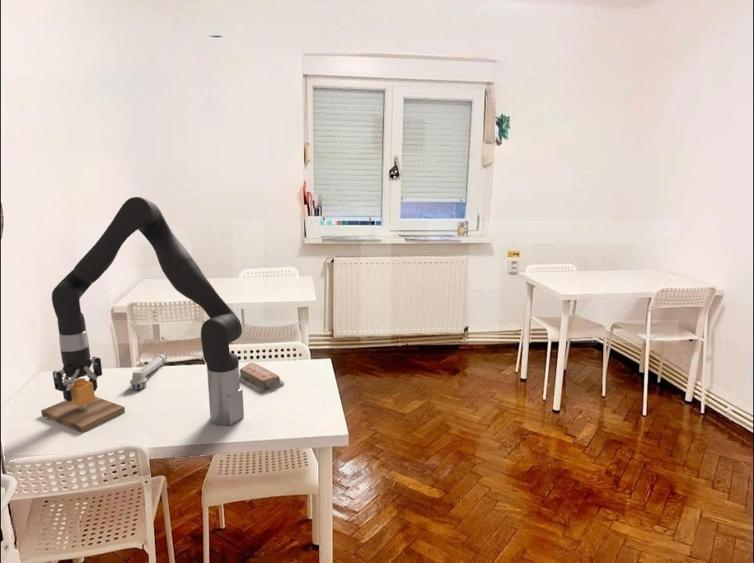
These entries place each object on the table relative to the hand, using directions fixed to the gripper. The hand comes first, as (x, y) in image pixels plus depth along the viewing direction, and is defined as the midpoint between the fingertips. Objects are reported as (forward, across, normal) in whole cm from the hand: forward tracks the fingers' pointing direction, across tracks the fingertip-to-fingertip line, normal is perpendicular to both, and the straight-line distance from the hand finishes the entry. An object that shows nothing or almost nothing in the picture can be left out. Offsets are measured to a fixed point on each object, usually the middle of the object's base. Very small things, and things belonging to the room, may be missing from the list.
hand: (81, 395), depth 163 cm
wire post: (+4, 0, 0) cm, 4 cm away
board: (+6, 0, 0) cm, 6 cm away
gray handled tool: (+7, -30, -6) cm, 31 cm away
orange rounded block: (+2, 0, 0) cm, 2 cm away
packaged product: (+7, -46, +31) cm, 56 cm away
